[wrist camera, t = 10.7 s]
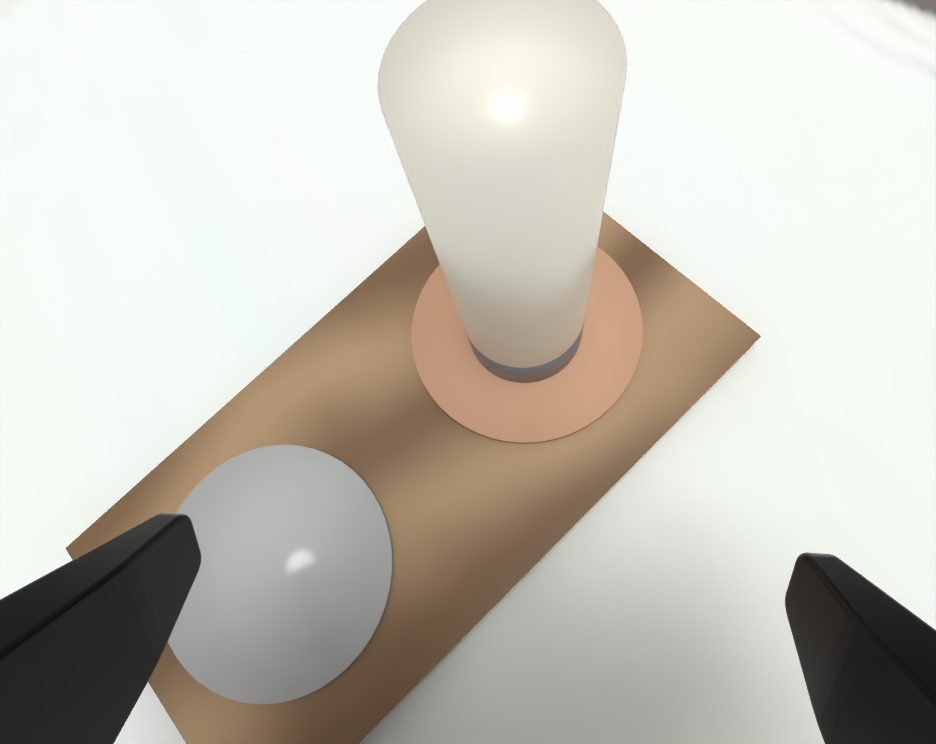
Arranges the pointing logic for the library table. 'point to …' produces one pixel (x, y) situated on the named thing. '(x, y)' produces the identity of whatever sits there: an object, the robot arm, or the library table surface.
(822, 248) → the library table surface
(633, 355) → the terracotta coaster
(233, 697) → the grey coaster
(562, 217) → the frosted light bulb
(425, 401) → the walnut board
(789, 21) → the library table surface
